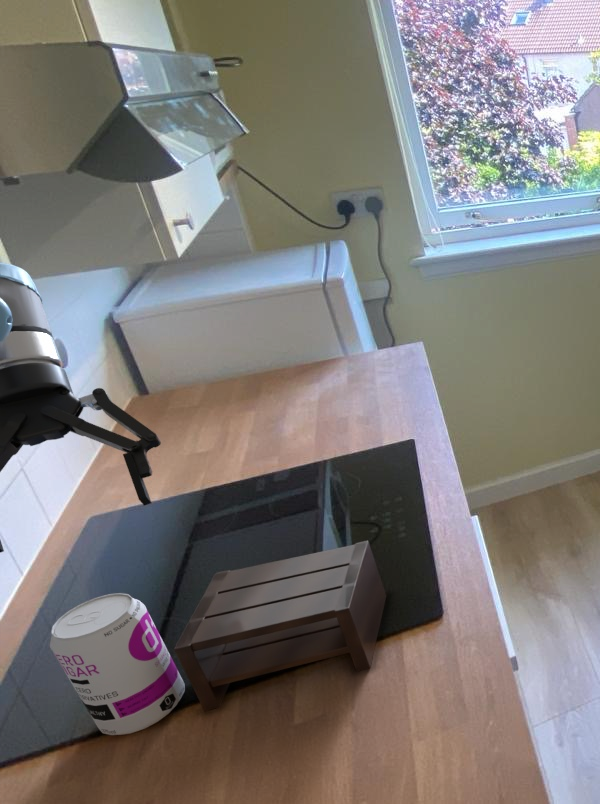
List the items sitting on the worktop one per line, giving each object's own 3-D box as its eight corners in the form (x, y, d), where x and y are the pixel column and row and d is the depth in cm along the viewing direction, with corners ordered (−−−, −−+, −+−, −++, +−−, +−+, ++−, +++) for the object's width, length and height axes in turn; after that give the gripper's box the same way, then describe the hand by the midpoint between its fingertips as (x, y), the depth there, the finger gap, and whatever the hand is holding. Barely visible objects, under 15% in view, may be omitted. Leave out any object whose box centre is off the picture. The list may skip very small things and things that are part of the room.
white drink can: (197, 674, 94) (152, 582, 87) (170, 727, 86) (118, 631, 80) (121, 692, 91) (69, 599, 85) (86, 748, 84) (26, 651, 78)
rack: (204, 711, 88) (173, 649, 84) (241, 630, 100) (215, 572, 96) (370, 668, 94) (348, 608, 90) (386, 596, 106) (368, 540, 102)
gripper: (155, 358, 103) (205, 491, 99) (-108, 420, 88) (-62, 580, 84) (142, 334, 97) (195, 474, 93) (-142, 395, 82) (-94, 566, 78)
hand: (73, 525), depth 89 cm, fingers open, 13 cm apart
